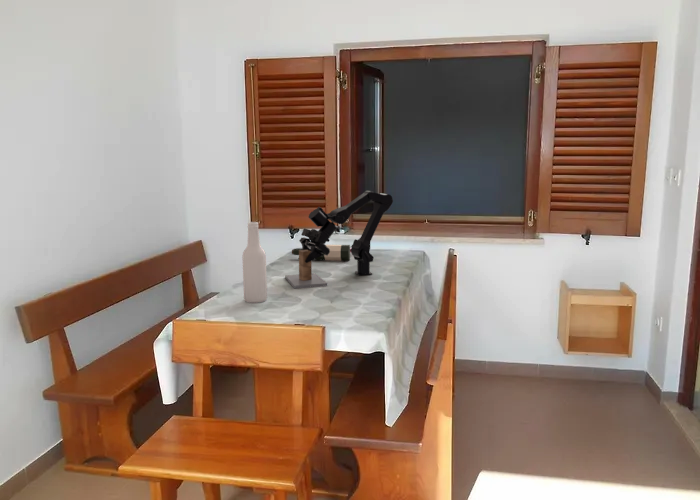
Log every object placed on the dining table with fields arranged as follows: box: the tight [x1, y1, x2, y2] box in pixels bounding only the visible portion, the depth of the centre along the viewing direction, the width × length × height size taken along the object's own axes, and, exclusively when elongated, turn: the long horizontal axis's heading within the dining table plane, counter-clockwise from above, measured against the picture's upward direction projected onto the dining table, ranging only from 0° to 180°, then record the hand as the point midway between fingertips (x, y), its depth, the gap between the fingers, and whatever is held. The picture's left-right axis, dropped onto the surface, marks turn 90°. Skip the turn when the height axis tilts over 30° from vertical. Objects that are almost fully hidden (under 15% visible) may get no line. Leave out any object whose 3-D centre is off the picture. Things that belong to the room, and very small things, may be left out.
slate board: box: [284, 272, 328, 289], centre depth 247 cm, size 20×14×1 cm
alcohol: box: [241, 221, 268, 304], centre depth 216 cm, size 9×9×30 cm
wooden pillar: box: [298, 250, 313, 281], centre depth 246 cm, size 4×4×12 cm
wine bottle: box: [291, 244, 351, 262], centre depth 295 cm, size 8×8×30 cm
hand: (302, 261), depth 245 cm, fingers open, 6 cm apart
